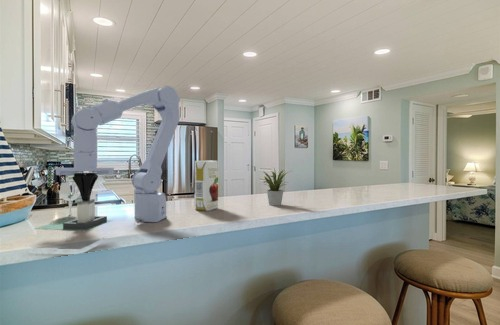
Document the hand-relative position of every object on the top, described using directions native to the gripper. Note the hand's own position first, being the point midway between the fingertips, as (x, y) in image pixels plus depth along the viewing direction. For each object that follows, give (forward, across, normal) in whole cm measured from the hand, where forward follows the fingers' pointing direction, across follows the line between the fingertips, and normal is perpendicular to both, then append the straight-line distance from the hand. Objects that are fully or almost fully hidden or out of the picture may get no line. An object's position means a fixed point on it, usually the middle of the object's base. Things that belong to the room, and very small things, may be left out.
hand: (86, 200), depth 81 cm
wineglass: (+8, +10, -16) cm, 21 cm away
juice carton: (+8, -35, -24) cm, 43 cm away
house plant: (+8, -66, -28) cm, 72 cm away
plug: (+7, 0, 0) cm, 7 cm away
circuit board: (+8, +3, -1) cm, 9 cm away
